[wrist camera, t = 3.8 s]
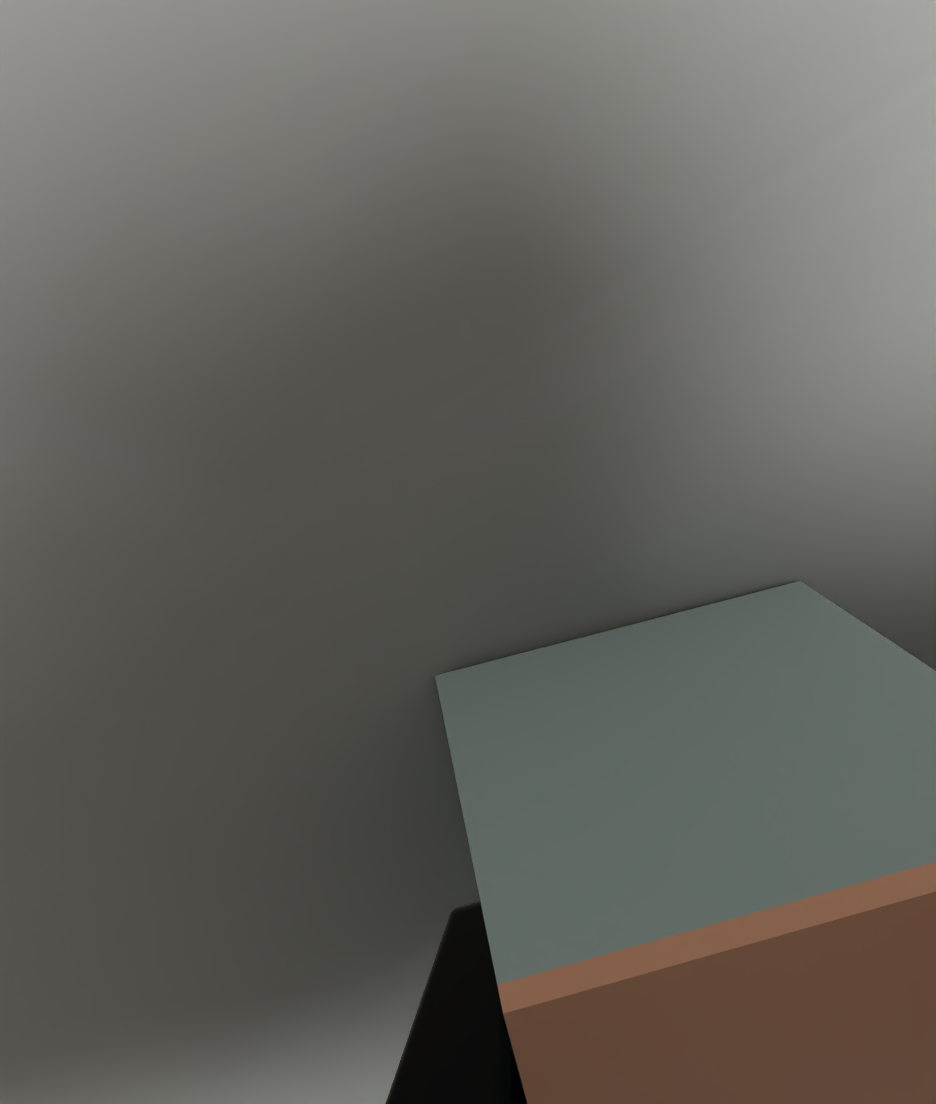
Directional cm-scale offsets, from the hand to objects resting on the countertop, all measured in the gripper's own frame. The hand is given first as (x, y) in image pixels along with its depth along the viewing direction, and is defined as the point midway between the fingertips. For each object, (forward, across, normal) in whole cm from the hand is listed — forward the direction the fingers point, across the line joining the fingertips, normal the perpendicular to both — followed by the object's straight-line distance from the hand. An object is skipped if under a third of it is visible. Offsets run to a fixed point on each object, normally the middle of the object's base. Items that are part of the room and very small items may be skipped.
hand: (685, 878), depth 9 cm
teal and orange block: (+1, 0, 0) cm, 1 cm away
